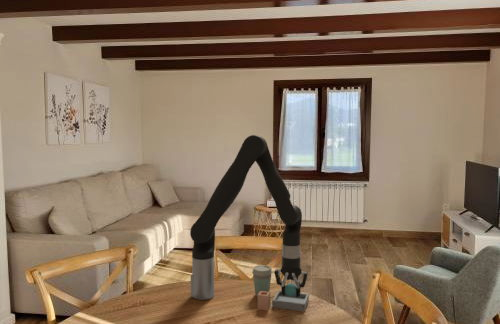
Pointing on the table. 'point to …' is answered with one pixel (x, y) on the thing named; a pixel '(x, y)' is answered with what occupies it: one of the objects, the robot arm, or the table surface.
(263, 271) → the coffee cup
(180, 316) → the table surface
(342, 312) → the table surface
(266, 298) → the pinkish brown block
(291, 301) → the tray
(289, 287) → the ball
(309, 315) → the table surface
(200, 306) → the table surface
